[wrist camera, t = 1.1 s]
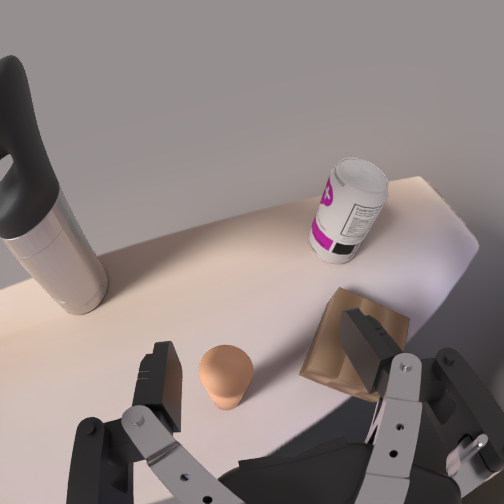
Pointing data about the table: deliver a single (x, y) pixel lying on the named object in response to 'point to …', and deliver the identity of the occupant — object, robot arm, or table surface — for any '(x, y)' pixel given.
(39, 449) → the table surface
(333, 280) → the table surface
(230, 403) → the peg
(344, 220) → the supplement can
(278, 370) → the table surface
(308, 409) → the table surface
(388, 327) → the socket block
